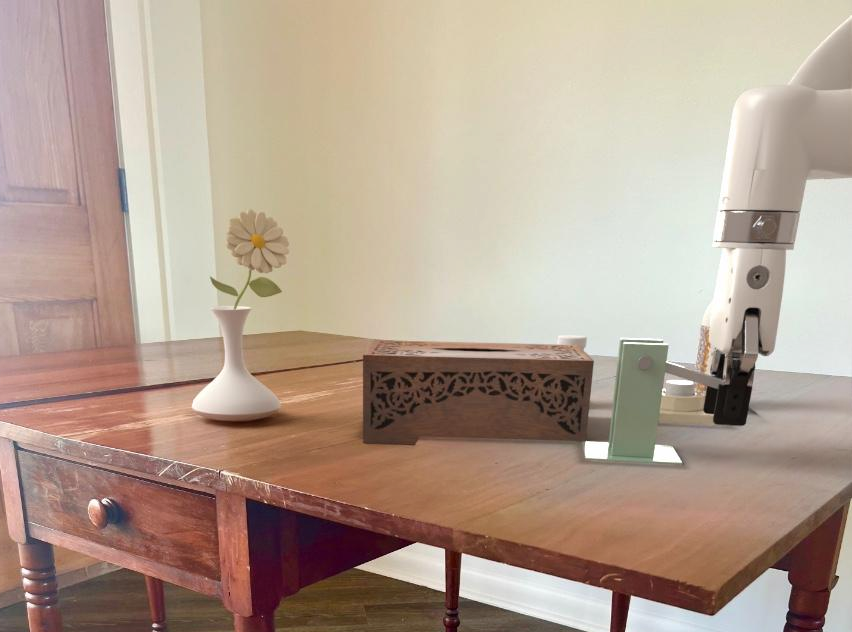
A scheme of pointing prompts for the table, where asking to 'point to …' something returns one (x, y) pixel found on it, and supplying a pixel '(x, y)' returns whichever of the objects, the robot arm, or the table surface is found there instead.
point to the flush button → (679, 387)
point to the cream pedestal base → (684, 409)
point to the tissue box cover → (475, 391)
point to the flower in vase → (235, 386)
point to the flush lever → (693, 375)
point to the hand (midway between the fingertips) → (723, 417)
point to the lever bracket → (636, 407)
